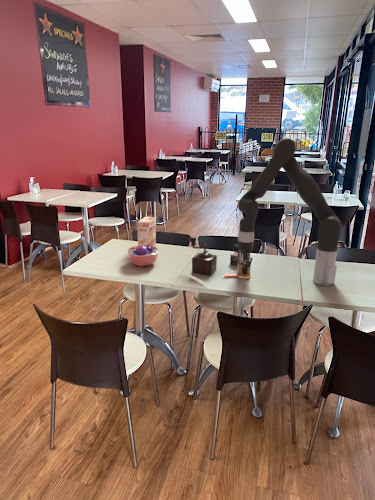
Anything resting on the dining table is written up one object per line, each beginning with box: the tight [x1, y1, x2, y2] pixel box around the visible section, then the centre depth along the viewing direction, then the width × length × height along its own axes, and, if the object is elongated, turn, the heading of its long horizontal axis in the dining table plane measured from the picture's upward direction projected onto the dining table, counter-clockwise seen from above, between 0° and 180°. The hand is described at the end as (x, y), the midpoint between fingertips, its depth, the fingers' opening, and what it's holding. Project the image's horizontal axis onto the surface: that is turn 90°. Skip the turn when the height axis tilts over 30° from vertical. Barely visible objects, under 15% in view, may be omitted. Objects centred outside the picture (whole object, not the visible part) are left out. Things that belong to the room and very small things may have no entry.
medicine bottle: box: [229, 243, 240, 267], centre depth 205 cm, size 7×7×12 cm
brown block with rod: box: [223, 263, 252, 280], centre depth 186 cm, size 14×7×7 cm, turn 97°
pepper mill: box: [188, 236, 218, 277], centre depth 193 cm, size 16×11×18 cm
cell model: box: [127, 245, 159, 267], centre depth 205 cm, size 17×20×11 cm
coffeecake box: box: [137, 216, 157, 248], centre depth 228 cm, size 15×7×20 cm, turn 167°
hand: (243, 272), depth 187 cm, fingers open, 3 cm apart
